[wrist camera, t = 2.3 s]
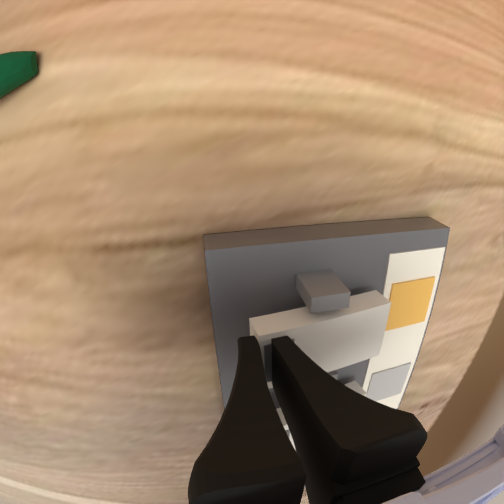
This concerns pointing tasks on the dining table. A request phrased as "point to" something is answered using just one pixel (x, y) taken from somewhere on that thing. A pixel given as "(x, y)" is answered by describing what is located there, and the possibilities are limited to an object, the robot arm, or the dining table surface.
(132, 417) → the dining table surface
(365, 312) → the block
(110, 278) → the dining table surface
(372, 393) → the switch unit
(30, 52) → the gaming controller
